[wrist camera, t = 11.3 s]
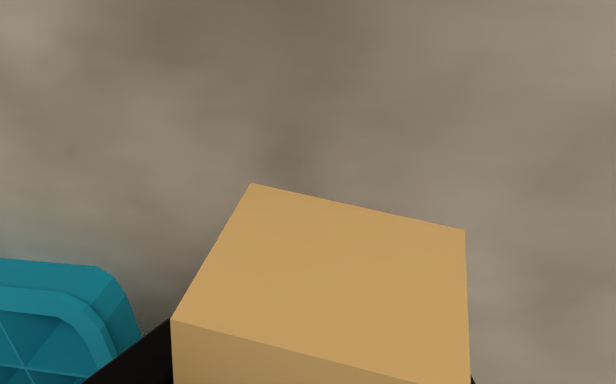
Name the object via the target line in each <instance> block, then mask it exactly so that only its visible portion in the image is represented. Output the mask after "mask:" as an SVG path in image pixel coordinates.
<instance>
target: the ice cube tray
mask: <svg viewBox="0 0 616 384" xmlns="http://www.w3.org/2000/svg"><path fill="white" fill-rule="evenodd" d="M141 338H142V337H141V334H140V331H139V329H138V326H137V323H136V321H135V318H134V315H133V312H132V310H131V307H130V304H129V301H128V299H127V296H126V294H125V292H124V291H123V290H122V288H121V287H120V285H119V284H118V282H117V281H116V279H115V278H114V277H113V276H111V275H110V274H108V273H107V272H105V271H103V270H102V269H100V268H99V267H95V266H84V265H73V264H61V263H50V262H38V261H27V260H15V259H4V258H0V384H80V383H82V382H83V381H84V380H86V379H87V378H89V377H90V376H91V375H93V374H94V373H95V372H97V371H98V370H99V369H101V368H102V367H103V366H105V365H106V364H107V363H109V362H110V361H112V360H113V359H114V358H116V357H117V356H118V355H120V354H121V353H122V352H124V351H125V350H126V349H128V348H129V347H130V346H132V345H133V344H134V343H136V342H137V341H139V340H140V339H141Z"/></svg>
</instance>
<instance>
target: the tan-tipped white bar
mask: <svg viewBox="0 0 616 384" xmlns="http://www.w3.org/2000/svg"><path fill="white" fill-rule="evenodd" d="M170 327H171V345H172V363H173V381H174V384H471V377H470V352H469V326H468V301H467V275H466V250H465V230H462V229H457V228H453V227H448V226H444V225H439V224H435V223H430V222H426V221H421V220H417V219H412V218H408V217H403V216H398V215H394V214H389V213H385V212H380V211H376V210H371V209H367V208H362V207H358V206H353V205H349V204H344V203H340V202H335V201H331V200H326V199H322V198H317V197H313V196H308V195H304V194H299V193H295V192H290V191H286V190H281V189H277V188H272V187H268V186H263V185H259V184H254V183H250V185H249V186H248V188H247V190H246V191H245V193H244V195H243V197H242V198H241V200H240V202H239V203H238V205H237V207H236V208H235V210H234V212H233V213H232V215H231V217H230V219H229V220H228V222H227V224H226V225H225V227H224V229H223V230H222V232H221V234H220V236H219V237H218V239H217V241H216V242H215V244H214V246H213V247H212V249H211V251H210V252H209V254H208V256H207V258H206V259H205V261H204V263H203V264H202V266H201V268H200V269H199V271H198V273H197V274H196V276H195V278H194V280H193V281H192V283H191V285H190V286H189V288H188V290H187V291H186V293H185V295H184V296H183V298H182V300H181V302H180V303H179V305H178V307H177V308H176V310H175V312H174V313H173V315H172V317H171V318H170Z"/></svg>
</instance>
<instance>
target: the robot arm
mask: <svg viewBox="0 0 616 384" xmlns="http://www.w3.org/2000/svg"><path fill="white" fill-rule="evenodd" d="M171 317H172V316H171ZM171 317H170V318H171ZM170 318H168V319H167V320H166V321H164V322H163V323H162V324H160V325H159V326H157V327H156V328H155V329H153V330H152V331H151V332H149V333H148V334H147V335H145V336H144V337H143V338H141V339H140V340H139V341H137V342H136V343H134V344H133V345H132V346H130V347H129V348H128V349H126V350H125V351H124V352H122V353H121V354H120V355H118V356H117V357H116V358H114V359H113V360H112V361H110V362H109V363H107V364H106V365H105V366H103V367H102V368H101V369H99V370H98V371H97V372H95V373H94V374H93V375H91V376H90V377H89V378H87V379H86V380H84V381H83V382H82V383H80V384H174V381H173V363H172V345H171V327H170ZM470 377H471V384H475V382H474V380H473V378H472V376H471V374H470Z"/></svg>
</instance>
